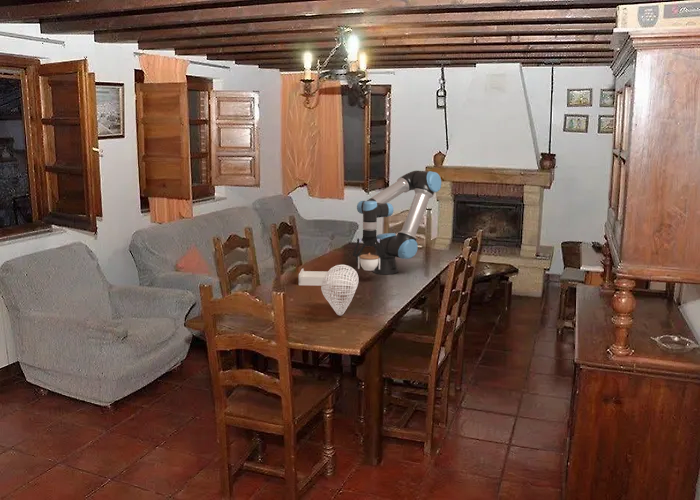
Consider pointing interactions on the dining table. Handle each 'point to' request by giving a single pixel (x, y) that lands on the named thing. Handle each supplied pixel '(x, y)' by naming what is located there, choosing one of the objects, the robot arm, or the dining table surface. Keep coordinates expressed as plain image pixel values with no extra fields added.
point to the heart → (327, 283)
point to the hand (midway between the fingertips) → (369, 268)
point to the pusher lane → (317, 278)
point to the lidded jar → (369, 261)
